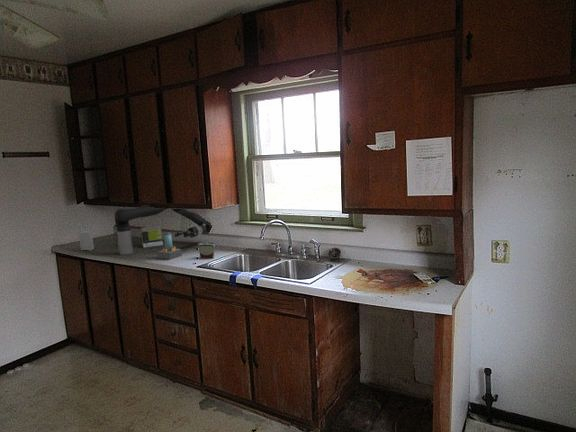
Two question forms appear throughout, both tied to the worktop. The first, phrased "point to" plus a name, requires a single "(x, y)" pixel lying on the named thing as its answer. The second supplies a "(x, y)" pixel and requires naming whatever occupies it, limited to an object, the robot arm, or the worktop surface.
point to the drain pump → (168, 241)
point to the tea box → (151, 236)
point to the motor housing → (169, 253)
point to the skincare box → (86, 240)
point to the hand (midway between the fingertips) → (179, 235)
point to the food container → (206, 250)
